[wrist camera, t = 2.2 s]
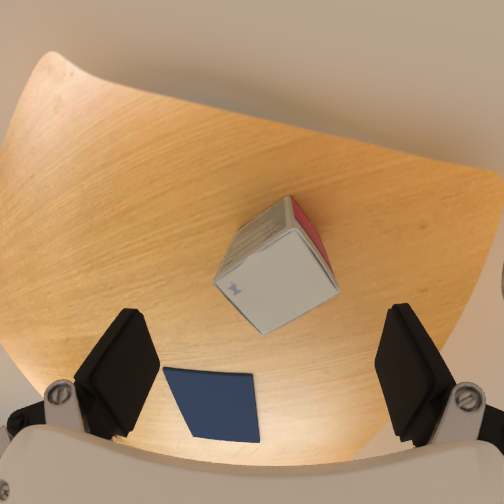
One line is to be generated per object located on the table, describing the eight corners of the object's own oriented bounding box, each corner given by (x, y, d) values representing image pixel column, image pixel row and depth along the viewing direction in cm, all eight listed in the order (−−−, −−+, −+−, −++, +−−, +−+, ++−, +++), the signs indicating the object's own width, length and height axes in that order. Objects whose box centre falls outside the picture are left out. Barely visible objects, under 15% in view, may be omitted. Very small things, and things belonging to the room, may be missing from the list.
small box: (268, 273, 22) (261, 340, 14) (234, 230, 21) (208, 283, 13) (322, 238, 20) (344, 294, 13) (289, 191, 19) (295, 225, 12)
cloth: (252, 373, 27) (252, 376, 26) (259, 440, 33) (259, 443, 32) (163, 366, 28) (162, 369, 27) (193, 434, 34) (193, 436, 34)
